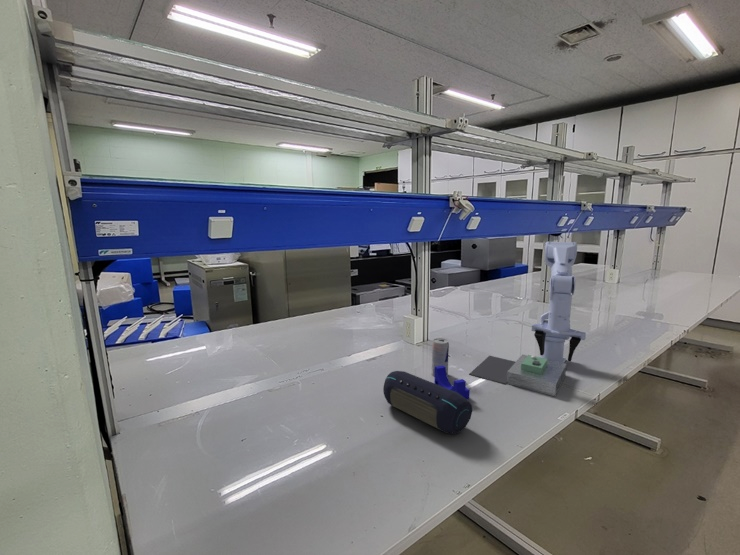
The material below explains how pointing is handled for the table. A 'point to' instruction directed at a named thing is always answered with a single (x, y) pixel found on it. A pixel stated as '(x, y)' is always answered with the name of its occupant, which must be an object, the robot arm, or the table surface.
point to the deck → (537, 377)
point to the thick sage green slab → (534, 364)
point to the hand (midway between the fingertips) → (555, 357)
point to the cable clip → (443, 381)
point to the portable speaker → (428, 401)
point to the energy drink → (440, 354)
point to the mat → (493, 369)
